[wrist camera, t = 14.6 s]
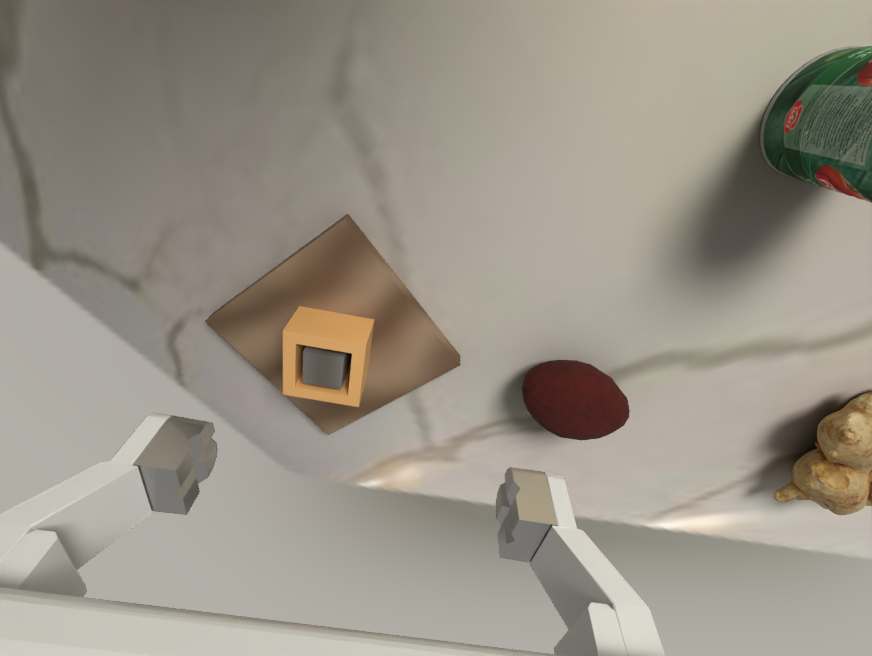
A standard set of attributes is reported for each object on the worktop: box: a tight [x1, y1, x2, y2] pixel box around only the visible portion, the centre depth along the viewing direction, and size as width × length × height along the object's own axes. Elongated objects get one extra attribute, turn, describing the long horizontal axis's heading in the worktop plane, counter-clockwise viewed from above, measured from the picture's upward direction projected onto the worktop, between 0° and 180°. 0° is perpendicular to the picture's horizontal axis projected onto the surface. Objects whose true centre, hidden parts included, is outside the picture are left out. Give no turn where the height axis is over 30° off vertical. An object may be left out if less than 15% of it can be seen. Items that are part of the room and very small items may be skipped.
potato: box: [522, 360, 629, 440], centre depth 38 cm, size 7×10×6 cm
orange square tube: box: [283, 306, 374, 407], centre depth 36 cm, size 6×6×4 cm
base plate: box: [205, 214, 460, 435], centre depth 37 cm, size 16×16×6 cm
